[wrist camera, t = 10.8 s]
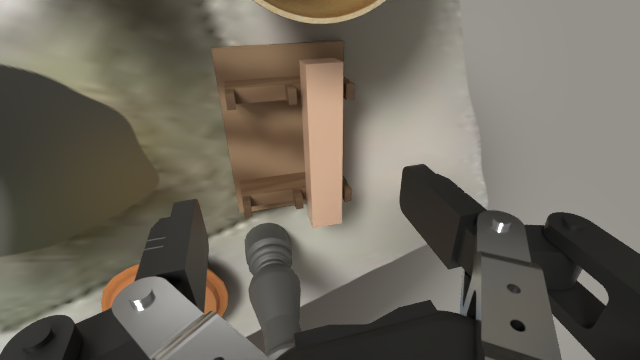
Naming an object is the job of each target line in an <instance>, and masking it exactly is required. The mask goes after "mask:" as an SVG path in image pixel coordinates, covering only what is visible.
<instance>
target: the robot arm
mask: <svg viewBox="0 0 640 360" xmlns="http://www.w3.org/2000/svg"><path fill="white" fill-rule="evenodd" d="M400 207H401V210H402V212H403V214H404V215H405V216H406V218H407V219H408V220H409V221H410V223H411V224H412V225H413V226H414V227H415V229H416V230H417V231H418V232H419V234H420V235H421V236H422V237H423V239H424V240H425V241H426V242H427V244H428V245H429V246H430V247H431V248H432V250H433V251H434V252H435V253H436V255H437V256H438V257H439V258H440V260H441V261H442V262H443V263H444V265H445V266H446V267H447V268H448V269H452V268H457V267H463V269H464V271H463V276H462V288H461V302H460V314H458V313H453V312H448V311H438V310H436V308H435V306H434V305H433V304H432V302H431V300H428V301H424V302H419V303H415V304H412V305H408V306H403V307H399V308H397V309H396V310H394V311H392V312H390V313H388V314H386V315H385V316H383V317H381V318H379V319H377V320H376V321H374V322H372V323H370V324H365V325H327V326H323V327H319V328H315V329H311V330H307V331H302V332H298V333H294V342H295V346H294V347H292V348H290V349H288V350H287V351H286V352H284V353H283V354H281V355H280V356H279V357H278V358H277V359H275V360H562V358H561V354H560V349H559V344H558V340H557V335H556V330H555V326H554V322H553V316H552V314H553V315H554V316H555V317H556V318H557V319H558V320H559V321H560V323H561V324H562V325H563V326H564V327H565V328H566V329H567V330H568V331H569V332H570V333H571V334H572V335H573V336H574V337H575V338H576V339H577V340H578V342H579V343H581V345H582V346H583V347H584V348H585V349H586V350H587V351H588V352H589V353H590V354H591V355H592V356H593V357H594V358H595V359H596V360H640V254H639V253H637V252H636V251H634V250H633V249H631V248H630V247H628V246H627V245H625V244H624V243H622V242H621V241H619V240H618V239H616V238H615V237H613V236H612V235H610V234H609V233H607V232H606V231H604V230H603V229H601V228H600V227H598V226H597V225H595V224H594V223H592V222H591V221H589V220H587V219H585V218H583V217H581V216H578V215H575V214H571V213H564V212H557V213H552V214H550V215H549V216H548V218H547V221H546V223H545V225H524V224H523V223H522V222H521V220H519V219H518V218H517V217H515V216H513V215H511V214H509V213H506V212H502V211H495V210H488V211H487V210H486V209H485V208H484V207H482V206H481V205H480V204H479V203H478V202H476V201H475V200H474V199H473V198H472V197H470V196H469V195H468V194H467V193H464V191H463V190H462V189H461V188H459V187H458V186H457V185H456V184H455V183H453V182H452V181H451V180H450V179H448V178H446V177H444V176H441V175H439V174H435V173H434V172H433V171H432V170H431V169H429V168H428V167H427V166H426V165H424V164H419V165H413V166H406V167H404V169H403V172H402V181H401V190H400ZM208 252H209V244H208V236H207V232H206V228H205V224H204V221H203V217H202V213H201V210H200V206H199V203H198V200H197V199H192V200H186V201H180V202H175V203H174V205H173V209H172V213H171V217H168V218H162V219H160V220H159V221H158V222H157V223H156V224H155V225H154V226H153V227H152V228H151V231H150V234H149V237H148V242H147V243H146V246H145V251H144V252H143V255H142V259H141V262H140V265H139V268H138V271H137V274H136V277H135V280H134V282H133V283H131V284H129V285H128V286H126V287H125V288H124V289H123V290H121V292H120V293H119V294H118V295H117V296H116V297H115V299H114V301H113V304H112V307H111V308H109V309H108V310H106V311H104V312H102V313H99V314H97V315H95V316H92V317H90V318H88V319H86V320H83V321H81V322H79V323H76V324H75V323H74V322H73V320H72V319H71V318H70V317H68V316H65V315H54V316H49V317H46V318H43V319H41V320H38V321H36V322H34V323H32V324H30V325H29V326H27V327H25V328H24V329H23V330H21V331H20V332H19V333H17V334H16V335H15V336H14V337H13V338H12V339H11V340H10V341H9V342H8V343H7V345H6V346H5V347H4V349H3V351H2V352H1V354H0V360H271V359H269V358H268V357H267V356H266V355H265V354H264V353H262V352H261V351H260V350H259V349H258V348H257V347H255V346H254V345H253V344H252V343H251V342H249V340H247V339H246V338H245V337H244V336H243V335H242V334H240V333H239V332H238V331H237V330H236V329H235V328H233V327H232V326H231V325H230V324H229V323H228V322H226V321H225V320H224V319H223V318H222V317H221V316H219V315H218V314H217V313H215V312H213V311H210V312H208V313H207V314H206V315H205V314H204V310H205V296H206V281H207V267H208ZM582 269H584V270H585V271H586V272H587V273H588V274H590V275H591V276H592V277H593V278H594V279H596V280H597V281H598V282H599V283H600V284H602V285H603V286H604V288H605V289H606V291H607V293H608V296H609V301H608V304H607V305H606V306H605V305H604V304H603V303H602V302H601V301H599V300H598V299H597V298H596V297H595V296H594V295H593V294H592V293H590V292H589V291H588V290H587V289H586V288H585V287H583V286H582V285H581V284H580V283H579V282H578V281H577V278H578V276H579V274H580V273H581V271H582Z"/></svg>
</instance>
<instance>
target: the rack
mask: <svg viewBox="0 0 640 360" xmlns="http://www.w3.org/2000/svg"><path fill="white" fill-rule="evenodd" d="M211 51H212V56H213V62H214V68H215V74H216V79H217V85H218V91H219V97H220V102H221V108H222V114H223V120H224V126H225V131H226V137H227V143H228V149H229V154H230V160H231V166H232V172H233V177H234V183H235V189H236V195H237V201H238V206H239V212H240V213H244V214H245V217H251V216H252V211H258V210H264V209H271V208H277V207H284V206H290V205H295V206H296V209H301V208H303V203H307V197H306V178H305V159H304V140H303V121H302V102H301V83H300V64H299V60H304V59H319V58H336V59H338V60H340V61H342V62H343V97H344V98H345V99H346V100H347V99H354V83H352V82H351V81H349V80H348V79H347V78H345V77H344V41H326V42H307V43H288V44H269V45H251V46H232V47H213V48H211ZM351 191H352V189H351V188H350V187H349V185H348V184H347V181H346V179H345V178H344V176H343V155H342V198H343V199H344V201H351Z"/></svg>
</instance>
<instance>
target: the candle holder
mask: <svg viewBox="0 0 640 360" xmlns="http://www.w3.org/2000/svg"><path fill="white" fill-rule="evenodd" d="M245 252H246V260H247V264H248V265H249V270H250V272H251V273H252V274H253V278H252V280H251V283H250V286H249V297H250V301H251V304H252V306H253V309H254V311H255V313H256V316H257V318H258V321H259V323H260V326H261V329H262V331H263V335H264V343H265V353H266V354H265V355H266V356H267V357H268V358H269V359H271V360H275V359H277V358H278V357H279V356H280V355H281V354H283V353H284V352H286V351H287V350H288V349H290V348H292V347H294V346H295V342H294V333H298V332H301V328H300V324H299V318H300V292H301V289H300V281H299V278H298V277H297V275H296V274H295V273H294V271H293V270H292V269H290V266H291V264H292V258H291V256H292V251H291V245H290V242H289V238H288V234H287V232H286V231H285V229H284V228H283V227H281V226H279V225H278V224H273V223H265V224H260V225H258V226H256V227H254V228H252V229H251V231H250V232H249V233H248V234H247V236H246V239H245Z"/></svg>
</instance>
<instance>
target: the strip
mask: <svg viewBox="0 0 640 360" xmlns="http://www.w3.org/2000/svg"><path fill="white" fill-rule="evenodd" d="M299 64H300V83H301V102H302V121H303V140H304V159H305V178H306V197H307V214H308V217H309V219H310V222H311V225H312V227H313V228H317V227H322V226H328V225H334V224H340V223H342V155H343V62H342V61H340V60H338V59H336V58H319V59H304V60H299Z"/></svg>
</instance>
